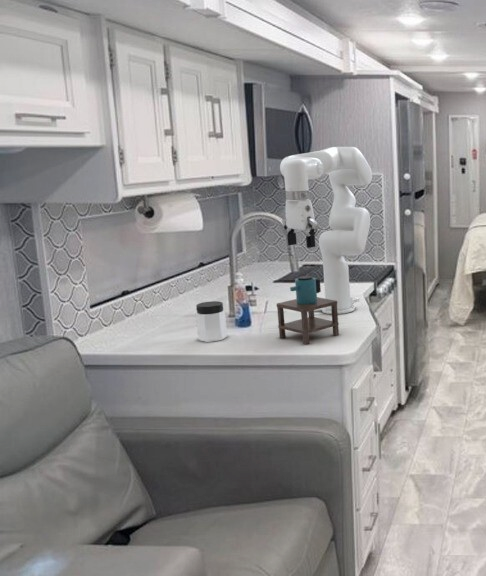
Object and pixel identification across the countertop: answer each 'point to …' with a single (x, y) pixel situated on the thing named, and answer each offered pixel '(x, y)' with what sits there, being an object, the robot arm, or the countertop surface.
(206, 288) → the countertop surface
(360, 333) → the countertop surface
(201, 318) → the jar
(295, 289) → the kettle
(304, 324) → the stand
